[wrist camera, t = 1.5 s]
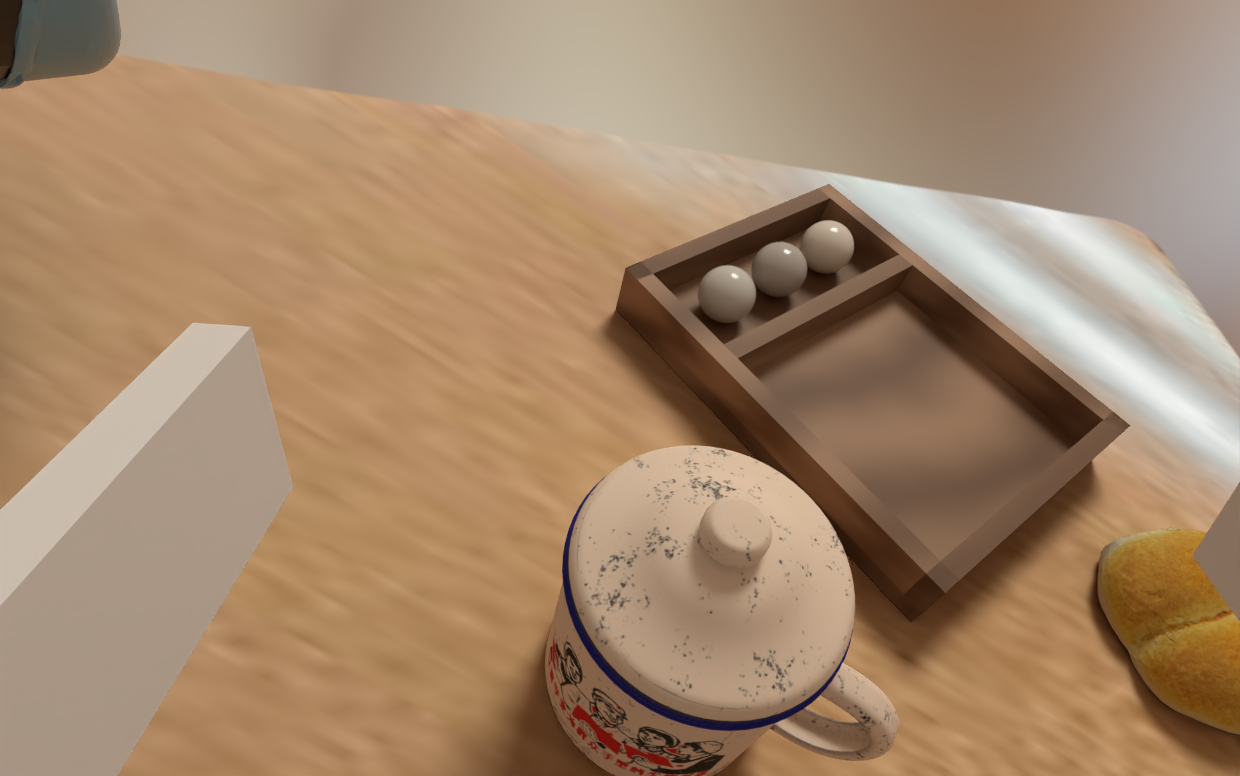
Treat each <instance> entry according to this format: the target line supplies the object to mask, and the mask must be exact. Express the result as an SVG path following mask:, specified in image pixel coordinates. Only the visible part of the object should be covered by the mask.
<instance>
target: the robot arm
mask: <svg viewBox="0 0 1240 776" xmlns="http://www.w3.org/2000/svg"><path fill="white" fill-rule="evenodd" d="M120 39H121V29H120V21H119V14H118V7H117V1H116V0H0V89H9V88H14V87H17V86H19V85H20V84H22V83H23V82H24V81H31V80H40V79H49V78H58V77H67V76H76V75H85V74H90V73H94V72H97V71H99V70H101V69H103V68H104V67H106V66H107V65H108V64H109V63H110V62H111V61H112V60H113V58H114V57H115V55H116V53H117V52H118V49H119V46H120ZM292 488H293V484H292V481H291V477H290V473H289V469H288V465H287V462H286V458H285V454H284V450H283V446H282V443H281V439H280V435H279V431H278V427H277V424H276V420H275V416H274V412H273V408H272V404H271V401H270V397H269V393H268V389H267V385H266V382H265V378H264V374H263V370H262V366H261V363H260V359H259V355H258V351H257V347H256V344H255V340H254V336H253V332H252V328H251V327H246V326H232V325H218V324H203V323H192V324H191V325H190V326H189V327H188V328H187V329H186V330H185V331H184V332H183V333H182V334H181V335H180V336H179V337H178V338H177V339H176V340H175V341H174V342H173V343H172V344H171V345H169V346H168V347H167V348H166V349H165V350H164V351H163V352H162V353H161V354H160V355H159V356H158V357H157V358H156V359H155V360H154V361H153V362H152V363H151V364H150V365H149V366H148V367H147V368H146V369H145V370H144V371H143V372H142V373H141V374H140V375H139V376H138V377H137V378H136V379H135V380H133V381H132V382H131V383H130V384H129V385H128V386H127V387H126V388H125V389H124V390H123V391H122V392H121V393H120V394H119V395H118V396H117V397H116V398H115V399H114V400H113V401H112V402H111V403H110V404H109V405H108V406H107V407H106V408H105V409H104V410H103V411H102V412H101V413H100V414H99V415H97V416H96V417H95V418H94V419H93V420H92V421H91V422H90V423H89V424H88V425H87V426H86V427H85V428H84V429H83V430H82V431H81V432H80V433H79V434H78V435H77V436H76V437H75V438H74V439H73V440H72V441H71V442H70V443H69V444H68V445H67V446H66V447H65V448H64V449H63V450H61V451H60V452H59V453H58V454H57V455H56V456H55V457H54V458H53V459H52V460H51V461H50V462H49V463H48V464H47V465H46V466H45V467H44V468H43V469H42V470H41V471H40V472H39V473H38V474H37V475H36V476H35V477H34V478H33V479H32V480H31V481H30V482H29V483H28V484H26V485H25V486H24V487H23V488H22V489H21V490H20V491H19V492H18V493H17V494H16V495H15V496H14V497H13V498H12V499H11V500H10V501H9V502H8V503H7V504H6V505H5V506H4V507H3V508H2V509H1V510H0V776H118V774H119V773H120V771H121V769H122V768H123V766H124V764H125V763H126V761H127V759H128V758H129V756H130V754H131V753H132V751H133V749H134V748H135V746H136V745H137V743H138V741H139V740H140V738H141V736H142V735H143V733H144V731H145V730H146V728H147V726H148V725H149V723H150V722H151V720H152V718H153V717H154V715H155V713H156V712H157V710H158V708H159V707H160V705H161V703H162V702H163V700H164V699H165V697H166V695H167V694H168V692H169V690H170V689H171V687H172V685H173V684H174V682H175V680H176V679H177V677H178V676H179V674H180V672H181V671H182V669H183V667H184V666H185V664H186V662H187V661H188V659H189V657H190V656H191V654H192V653H193V651H194V649H195V648H196V646H197V644H198V643H199V641H200V639H201V638H202V636H203V634H204V633H205V631H206V630H207V628H208V626H209V625H210V623H211V621H212V620H213V618H214V616H215V615H216V613H217V611H218V610H219V608H220V607H221V605H222V603H223V602H224V600H225V598H226V597H227V595H228V593H229V592H230V590H231V588H232V587H233V585H234V584H235V582H236V580H237V579H238V577H239V575H240V574H241V572H242V570H243V569H244V567H245V565H246V564H247V562H248V560H249V559H250V557H251V556H252V554H253V552H254V551H255V549H256V547H257V546H258V544H259V542H260V541H261V539H262V537H263V536H264V534H265V533H266V531H267V529H268V528H269V526H270V524H271V523H272V521H273V519H274V518H275V516H276V514H277V513H278V511H279V510H280V508H281V506H282V505H283V503H284V501H285V500H286V498H287V496H288V495H289V493H290V491H291V490H292ZM1192 556H1193V557H1194V559H1195V560H1196V561H1197V563H1198V564H1199V566H1200V567H1201V568H1202V570H1203V571H1204V572H1205V574H1206V575H1207V577H1208V578H1209V579H1210V581H1211V582H1212V584H1213V585H1214V586H1215V588H1216V589H1217V591H1218V592H1219V593H1220V595H1221V596H1222V598H1223V599H1224V600H1225V602H1226V603H1227V605H1228V606H1229V607H1230V609H1231V610H1232V611H1233V613H1234V614H1235V616H1236V617H1237V618H1238V620H1239V621H1240V483H1239V484H1238V486H1237V487H1236V489H1235V491H1234V492H1233V494H1232V495H1231V497H1230V498H1229V500H1228V501H1227V503H1226V504H1225V506H1224V507H1223V509H1222V511H1221V512H1220V514H1219V515H1218V517H1217V518H1216V520H1215V521H1214V523H1213V524H1212V526H1211V527H1210V529H1209V530H1208V532H1207V534H1206V535H1205V537H1204V538H1203V540H1202V541H1201V543H1200V544H1199V546H1198V547H1197V549H1196V550H1195V552H1194V553H1193V555H1192Z"/></svg>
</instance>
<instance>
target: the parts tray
mask: <svg viewBox="0 0 1240 776" xmlns="http://www.w3.org/2000/svg"><path fill="white" fill-rule="evenodd" d="M825 220H832V221H836V222H839V223H841V224H843V225H844V226H845V227H847V229H848V230H849V231H850V232H851V234H852V237H853V240H854V252H853V255H852V258H851V260H850V261H849V262H848V264H847V265H846V266H845V267H844V268H842V269H841V270H839V271H837V272H834V273H830V274H822V273H818V272H815V271H813V270H811V269H810V268H809V267H808V266H807V276H806V279H805V281H804V283H803V285H802V286H801V287H800V288H799V289H798V290H797V291H796V292H794V293H793V294H791V295H789V296H785V297H772V296H768V295H766V294H764V293H763V292H761V291H760V290H759V289H758V288H757V286H756V285H755V288H756V300H755V303H754V306H753V308H752V309H751V311H750V312H749V313H748V315H746V316H745V317H744V318H742V319H741V320H739V321H737V322H733V323H720V322H717V321H714V320H712V319H711V318H709V317H708V316H707V315H706V314H705V313H704V312H703V310H702V309H701V307H700V304H699V301H698V289H699V285H700V283H701V281H702V279H703V278H704V276H705V275H706V274H707V273H708V272H709V271H711V270H712V269H714V268H716V267H719V266H723V265H732V266H736V267H739V268H741V269H743V270H744V271H745V272H747V273H748V274H749V276H750V277H751V278H752V274H751V267H752V262H753V259H754V257H755V256H756V254H757V253H758V252H759V250H760V249H762V248H763V247H764V246H766V245H768V244H770V243H774V242H787V243H790V244H792V245H794V246H796V247H797V248H798V249H799V250H800V242H801V239H802V237H803V235H804V233H805V232H806V230H807V229H808V228H809V227H811V226H812V225H813V224H815V223H817V222H820V221H825ZM752 280H753V279H752ZM753 282H754V281H753ZM754 284H755V283H754ZM616 309H617V310H618V312H619V313H620V314H621V315H622V316H623V317H624V318H625V319H626V320H627V321H628V322H629V323H630V324H631V325H632V326H633V327H634V328H635V330H636V331H637V332H638V333H639V334H640V335H641V336H642V337H643V338H644V339H645V340H646V341H647V342H648V343H649V344H650V345H651V347H652V348H653V349H654V350H655V351H656V352H657V353H658V354H659V355H660V356H661V357H662V358H663V359H664V360H665V361H666V362H667V364H668V365H669V366H670V367H671V368H672V369H673V370H674V371H675V372H676V373H677V374H678V375H679V376H680V377H681V378H682V379H683V380H684V382H685V383H686V384H687V385H688V386H689V387H690V388H691V389H692V390H693V391H694V392H695V393H696V394H697V395H698V396H699V397H700V399H701V400H702V401H703V402H704V403H705V404H706V405H707V406H708V407H709V408H710V409H711V410H712V411H713V412H714V413H715V414H716V416H717V417H718V418H719V419H720V420H721V421H722V422H723V423H724V424H725V425H726V426H727V427H728V428H729V429H730V430H731V431H732V432H733V434H734V435H735V436H736V437H737V438H738V439H739V440H740V441H741V442H742V443H743V444H744V445H745V446H746V447H747V448H748V449H749V451H750V452H751V453H752V454H753V455H754V456H755V457H756V458H757V459H758V460H759V461H760V462H762V463H764V464H766V465H768V466H770V467H772V468H773V469H775V470H777V471H778V472H780V473H781V474H783V475H784V476H786V477H787V478H788V479H790V480H791V481H792V482H794V483H795V484H796V485H797V486H798V487H799V488H801V489H802V490H803V491H804V492H805V493H806V494H807V495H808V496H809V497H810V498H811V499H812V500H813V501H814V502H815V504H816V505H817V506H818V507H819V508H820V509H821V511H822V512H823V513H824V515H825V516H826V518H827V519H828V520H829V522H830V524H831V525H832V527H833V528H834V530H835V532H836V534H837V536H838V538H839V540H840V542H841V544H842V546H843V549H844V551H845V552H846V553H847V555H848V556H849V557H850V558H851V559H852V560H853V561H854V562H855V563H856V564H857V565H858V566H859V567H860V568H861V569H862V570H863V571H864V573H865V574H866V575H867V576H868V577H869V578H870V579H871V580H872V581H873V582H874V583H875V584H876V585H877V586H878V587H879V588H880V590H881V591H882V592H883V593H884V594H885V595H886V596H887V597H888V598H889V599H890V600H891V601H892V602H893V603H894V604H895V605H896V606H897V608H898V609H899V610H900V611H901V612H902V613H903V614H904V615H905V616H906V617H907V618H908V619H909V620H910V621H911V622H912V621H913V620H914V619H916V618H917V617H918V616H919V615H920V614H921V613H923V612H924V611H925V610H926V609H927V608H928V607H930V606H931V605H932V604H933V603H934V602H935V601H937V600H938V599H939V598H940V597H941V596H942V595H944V594H945V593H946V592H947V591H948V590H949V589H950V588H951V587H953V586H954V585H955V584H956V583H957V582H958V581H959V580H960V579H961V578H962V577H964V576H965V575H966V574H967V573H968V572H969V571H970V570H971V569H972V568H974V567H975V566H976V565H977V564H978V563H979V562H980V561H981V560H982V559H983V558H985V557H986V556H987V555H988V554H989V553H990V552H991V551H992V550H993V549H994V548H996V547H997V546H998V545H999V544H1000V543H1001V542H1002V541H1003V540H1004V539H1006V538H1007V537H1008V536H1009V535H1010V534H1011V533H1012V532H1013V531H1014V530H1015V529H1017V528H1018V527H1019V526H1020V525H1021V524H1022V523H1023V522H1024V521H1025V520H1026V519H1028V518H1029V517H1030V516H1031V515H1032V514H1033V513H1034V512H1035V511H1036V510H1038V509H1039V508H1040V507H1041V506H1042V505H1043V504H1044V503H1045V502H1046V501H1047V500H1049V499H1050V498H1051V497H1052V496H1053V495H1054V494H1055V493H1056V492H1057V491H1059V490H1060V489H1061V488H1062V487H1063V486H1064V485H1065V484H1066V483H1067V482H1068V481H1070V480H1071V479H1072V478H1073V477H1074V476H1075V475H1076V474H1077V473H1078V472H1079V471H1081V470H1082V469H1083V468H1084V467H1085V466H1086V465H1087V464H1088V463H1089V462H1091V461H1092V460H1093V459H1094V458H1095V457H1096V456H1097V455H1098V454H1099V453H1100V452H1102V451H1103V450H1104V449H1105V448H1106V447H1107V446H1108V445H1109V444H1110V443H1111V442H1113V441H1114V440H1115V439H1116V438H1117V437H1118V436H1119V435H1120V434H1121V433H1123V432H1124V431H1125V430H1126V429H1127V428H1128V427H1129V426H1130V425H1129V424H1128V423H1126V422H1125V421H1124V420H1123V419H1121V418H1120V417H1119V416H1118V415H1116V414H1115V413H1114V412H1113V411H1111V410H1110V409H1109V408H1108V407H1106V406H1105V405H1104V404H1103V403H1102V402H1100V401H1099V400H1098V399H1097V398H1095V397H1094V396H1093V395H1092V394H1090V393H1089V392H1088V391H1087V390H1085V389H1084V388H1083V387H1082V386H1080V385H1079V384H1078V383H1077V382H1075V381H1074V380H1073V379H1072V378H1070V377H1069V376H1068V375H1067V374H1065V373H1064V372H1063V371H1062V370H1060V369H1059V368H1058V367H1057V366H1055V365H1054V364H1053V363H1052V362H1050V361H1049V360H1048V359H1047V358H1045V357H1044V356H1043V355H1042V354H1040V353H1039V352H1038V351H1037V350H1035V349H1034V348H1033V347H1032V346H1030V345H1029V344H1028V343H1027V342H1025V341H1024V340H1023V339H1022V338H1020V337H1019V336H1018V335H1017V334H1016V333H1014V332H1013V331H1012V330H1011V329H1009V328H1008V327H1007V326H1006V325H1004V324H1003V323H1002V322H1001V321H999V320H998V319H997V318H996V317H994V316H993V315H992V314H991V313H989V312H988V311H987V310H986V309H984V308H983V307H982V306H981V305H979V304H978V303H977V302H976V301H974V300H973V299H972V298H971V297H969V296H968V295H967V294H966V293H964V292H963V291H962V290H961V289H959V288H958V287H957V286H956V285H954V284H953V283H952V282H951V281H949V280H948V279H947V278H946V277H944V276H943V275H942V274H941V273H939V272H938V271H937V270H936V269H934V268H933V267H932V266H931V265H929V264H928V263H927V262H926V261H925V260H923V259H922V258H921V257H920V256H918V255H917V254H916V253H915V252H913V251H912V250H911V249H910V248H908V247H907V246H906V245H905V244H903V243H902V242H901V241H900V240H898V239H897V238H896V237H895V236H893V235H892V234H891V233H890V232H888V231H887V230H886V229H885V228H883V227H882V226H881V225H880V224H878V223H877V222H876V221H875V220H873V219H872V218H871V217H870V216H868V215H867V214H866V213H865V212H863V211H862V210H861V209H860V208H858V207H857V206H856V205H855V204H853V203H852V202H851V201H850V200H848V199H847V198H846V197H845V196H843V195H842V194H841V193H840V192H839V191H837V190H836V189H835V188H834V187H832V186H831V185H830V184H828V185H826V186H823V187H821V188H818V189H816V190H813V191H811V192H809V193H806V194H804V195H801V196H799V197H797V198H794V199H792V200H789V201H787V202H784V203H782V204H780V205H777V206H775V207H772V208H770V209H767V210H765V211H763V212H760V213H758V214H755V215H753V216H750V217H748V218H746V219H743V220H741V221H738V222H736V223H733V224H731V225H729V226H726V227H724V228H721V229H719V230H716V231H714V232H712V233H709V234H707V235H704V236H702V237H699V238H697V239H695V240H692V241H690V242H687V243H685V244H682V245H680V246H678V247H675V248H673V249H670V250H668V251H665V252H663V253H661V254H658V255H656V256H653V257H651V258H649V259H646V260H644V261H641V262H639V263H636V264H634V265H632V266H629V267H627V268H626V269H625V273H624V277H623V281H622V286H621V290H620V294H619V298H618V302H617V306H616Z"/></svg>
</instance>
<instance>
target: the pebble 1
mask: <svg viewBox="0 0 1240 776" xmlns="http://www.w3.org/2000/svg"><path fill="white" fill-rule="evenodd" d="M755 300H756V288H755V284H754V282H753V280H752V278H751V277H750V276H749V274H748V273H747V272H745V271H744V270H743V269H741V268H739V267H736V266H732V265H723V266H719V267H716V268H714V269H712V270H711V271H709V272H708V273H707V274H706V275H705V276H704V278H703V279H702V281H701V283H700V285H699V289H698V301H699V304H700V307H701V309H702V310H703V312H704V313H705V314H706V315H707V316H708V317H709V318H711V319H712V320H714V321H717V322H720V323H733V322H737V321H739V320H741V319H742V318H744V317H745V316H746V315H748V313H749V312H750V311H751V309H752V308H753V306H754V303H755Z"/></svg>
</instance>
